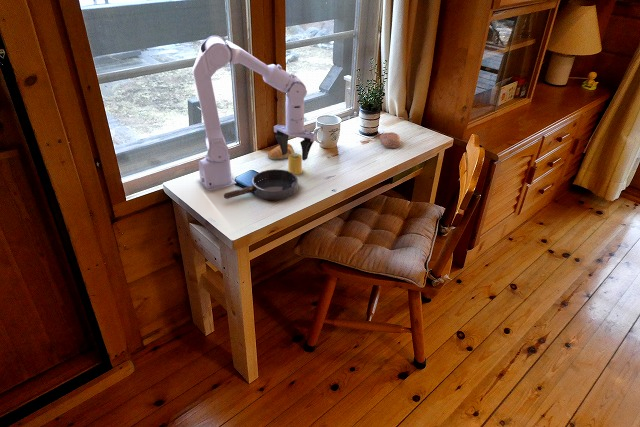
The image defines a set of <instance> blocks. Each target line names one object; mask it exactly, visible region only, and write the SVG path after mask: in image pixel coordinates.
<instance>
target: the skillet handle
mask: <svg viewBox="0 0 640 427" xmlns="http://www.w3.org/2000/svg"><path fill="white" fill-rule="evenodd" d="M254 191H256V188H255V186H252V185H251V186H246V187H243V188H239V189H235V190H232V191H231V190H230V191H228V192H224V194H223V198H224V199H225V200H228V199H232V198H236V197H240V196H243V195H247V194H250V193H253V192H254Z"/></svg>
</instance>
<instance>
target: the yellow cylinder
mask: <svg viewBox="0 0 640 427" xmlns="http://www.w3.org/2000/svg"><path fill="white" fill-rule="evenodd" d="M287 159H288V161H287V162H288V163H287V164H288V170H287V171H289V172H291V173H293V174H294V175H296V176H297V175H300V174H302V173H303V166H302V165H303V160H302V154H299V153H298V152H295V153H293V154H290V155H289V156H288V158H287Z"/></svg>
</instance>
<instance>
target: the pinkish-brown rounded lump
mask: <svg viewBox="0 0 640 427" xmlns="http://www.w3.org/2000/svg"><path fill="white" fill-rule="evenodd" d="M379 140H380V143H381V144H382V145H383V147H385V148H389V149H397V148H399V147H400V146H401V144H402V139H401V137H400V135H399V134H397V133H395V132H384V133H382V134H380V135H379Z"/></svg>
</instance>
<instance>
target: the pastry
mask: <svg viewBox="0 0 640 427" xmlns="http://www.w3.org/2000/svg"><path fill="white" fill-rule="evenodd" d="M293 153H296V152H295V149H294V147H293V146H292V144H290V143H288V152H287V153H286V154H285V155H282V151H281V148H280V145H277V146H275V147H274V148H273V149H271V150H270V151H268V153H267V158H268V159H270V160H272V161H274V160H275V161H276V160H284V159H288V156H289V155H290V154H293Z"/></svg>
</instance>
